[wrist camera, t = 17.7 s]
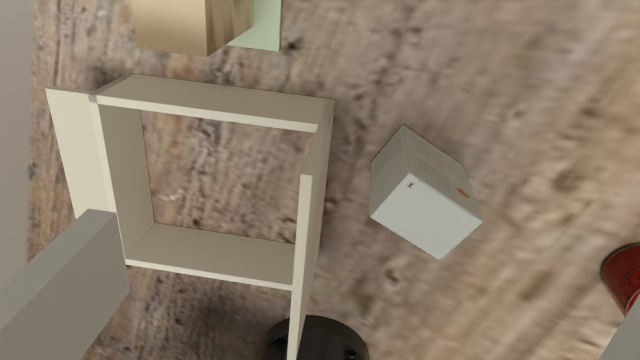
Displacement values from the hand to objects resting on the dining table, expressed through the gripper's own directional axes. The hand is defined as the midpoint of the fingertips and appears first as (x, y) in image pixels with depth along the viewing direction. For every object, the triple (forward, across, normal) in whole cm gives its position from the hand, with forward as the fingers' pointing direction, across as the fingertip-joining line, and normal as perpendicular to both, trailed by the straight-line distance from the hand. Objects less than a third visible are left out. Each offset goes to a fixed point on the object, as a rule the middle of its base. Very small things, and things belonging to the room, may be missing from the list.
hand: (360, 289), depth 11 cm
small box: (+33, -6, +12) cm, 36 cm away
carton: (+33, +16, +16) cm, 40 cm away
